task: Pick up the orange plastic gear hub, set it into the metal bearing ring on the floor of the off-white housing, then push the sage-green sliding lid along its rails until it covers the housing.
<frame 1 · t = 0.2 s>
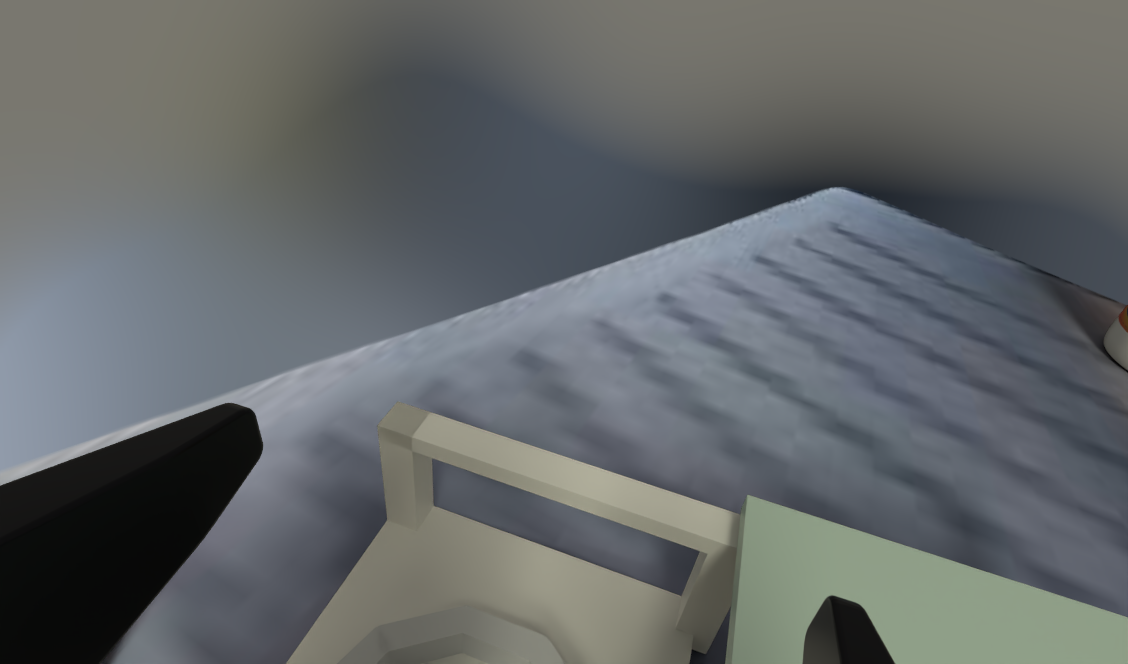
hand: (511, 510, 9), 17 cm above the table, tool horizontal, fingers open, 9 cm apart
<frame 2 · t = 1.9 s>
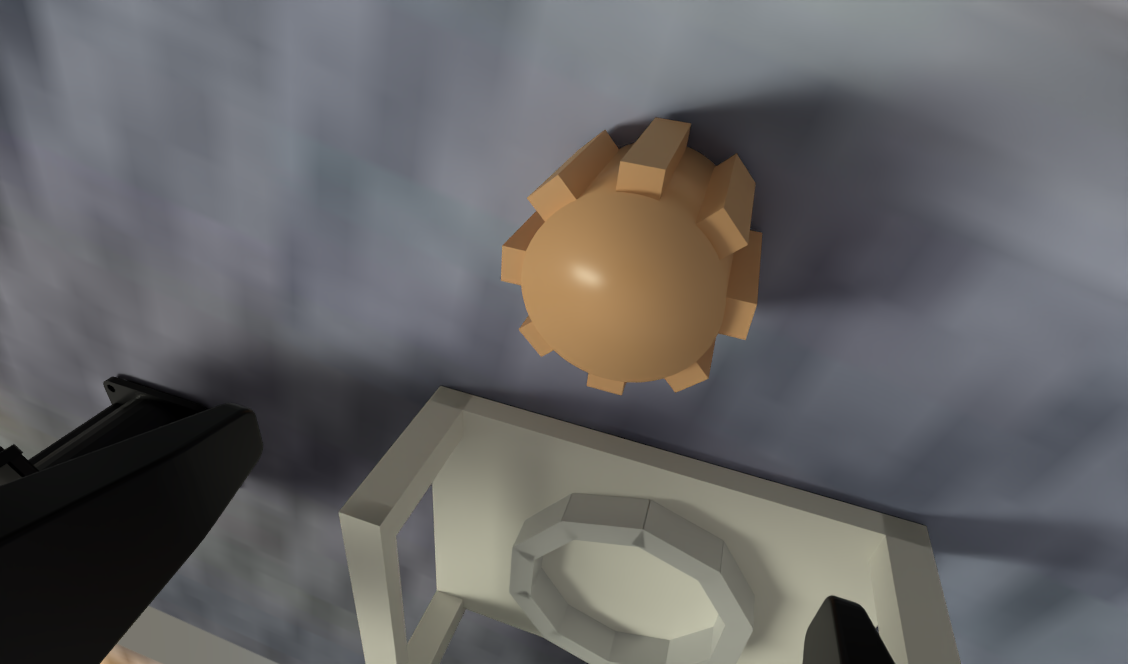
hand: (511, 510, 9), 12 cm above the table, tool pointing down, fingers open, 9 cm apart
gear hub: (654, 222, 18), on the table
housing: (633, 560, 27), on the table
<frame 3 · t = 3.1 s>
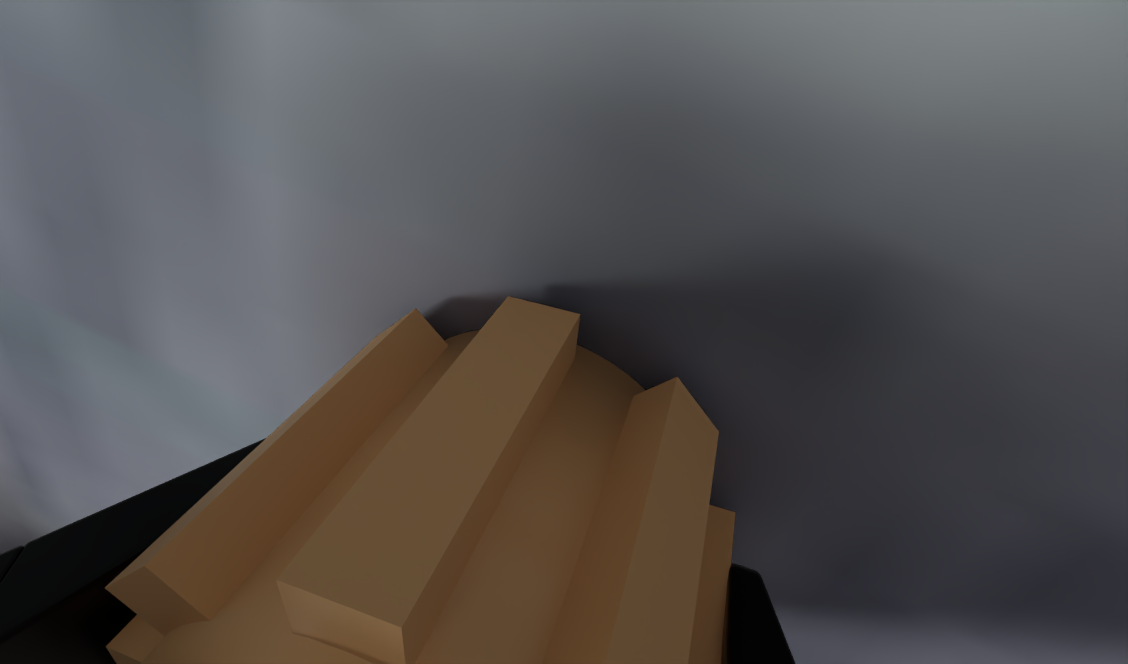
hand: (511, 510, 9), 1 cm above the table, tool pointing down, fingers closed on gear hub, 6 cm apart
gear hub: (535, 460, 10), on the table, touching gripper
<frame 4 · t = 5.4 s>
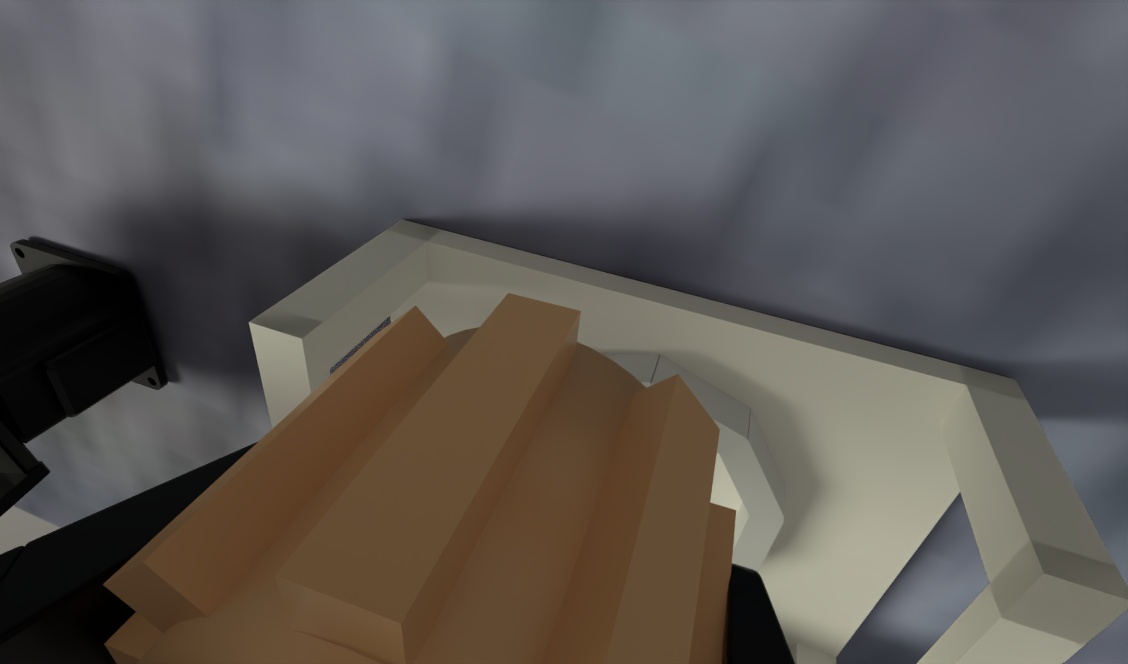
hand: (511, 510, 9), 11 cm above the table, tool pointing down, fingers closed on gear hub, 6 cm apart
gear hub: (535, 458, 10), point 10 cm above the table, touching gripper
housing: (635, 451, 22), on the table
when the fingers open (3 cm above the table, at t = 7.8 s): gear hub drops 1 cm, resting on housing.
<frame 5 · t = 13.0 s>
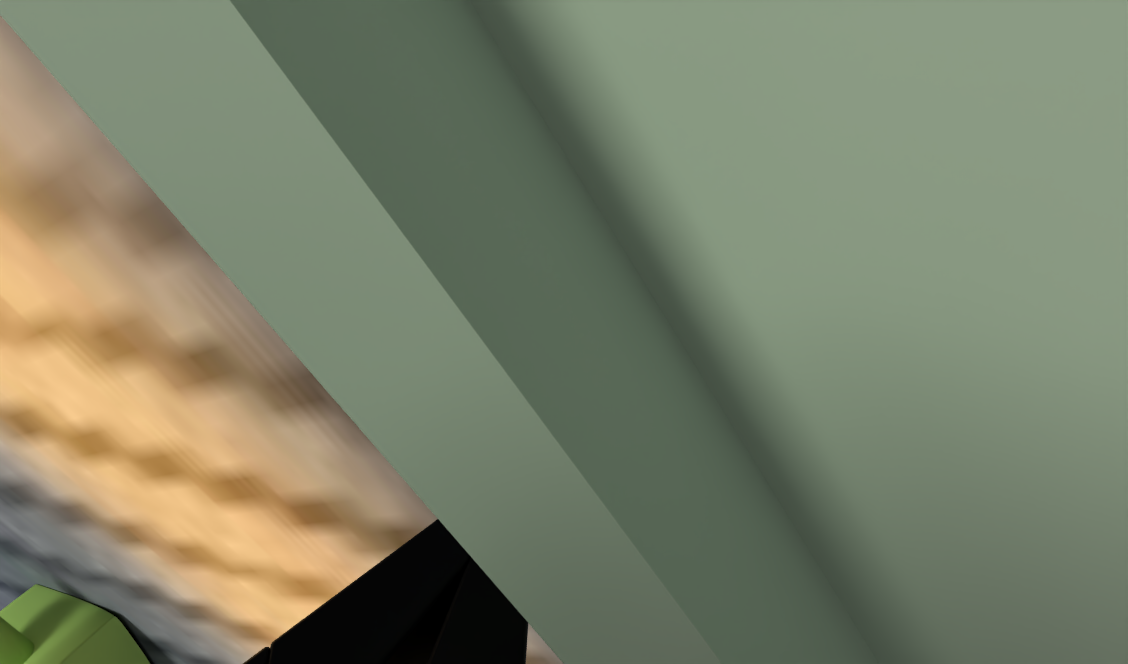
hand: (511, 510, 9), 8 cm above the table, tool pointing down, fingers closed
gearbox: (96, 625, 45), on the table
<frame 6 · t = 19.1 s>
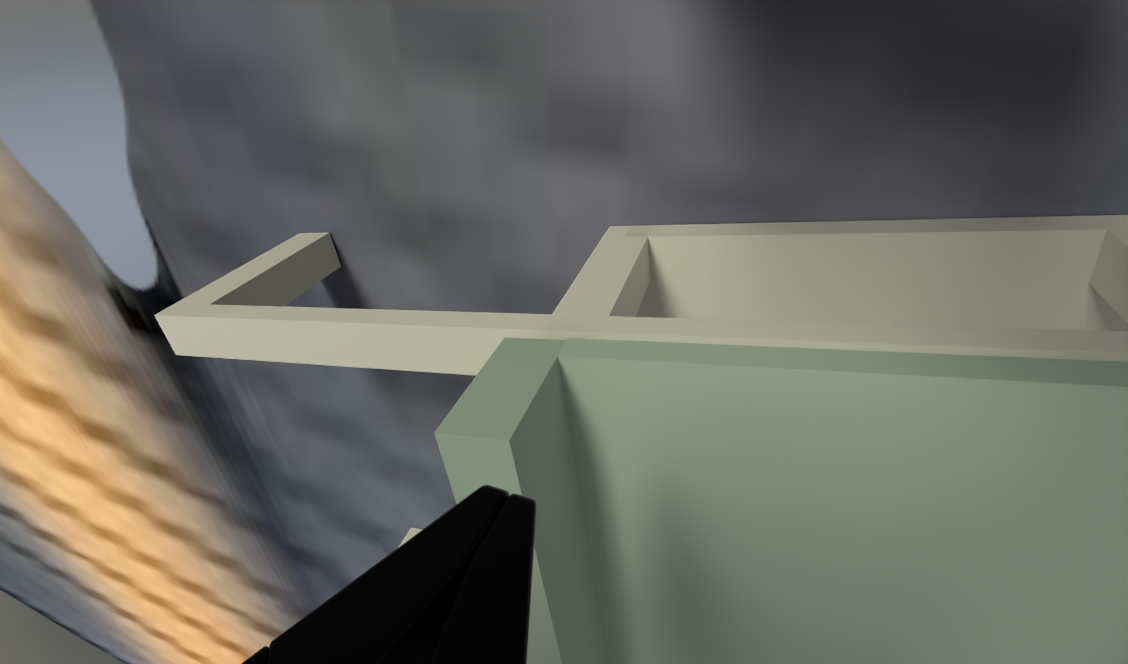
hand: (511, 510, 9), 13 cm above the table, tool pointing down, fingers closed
housing: (833, 460, 22), on the table
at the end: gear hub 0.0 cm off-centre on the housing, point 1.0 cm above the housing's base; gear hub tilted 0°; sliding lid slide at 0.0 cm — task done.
